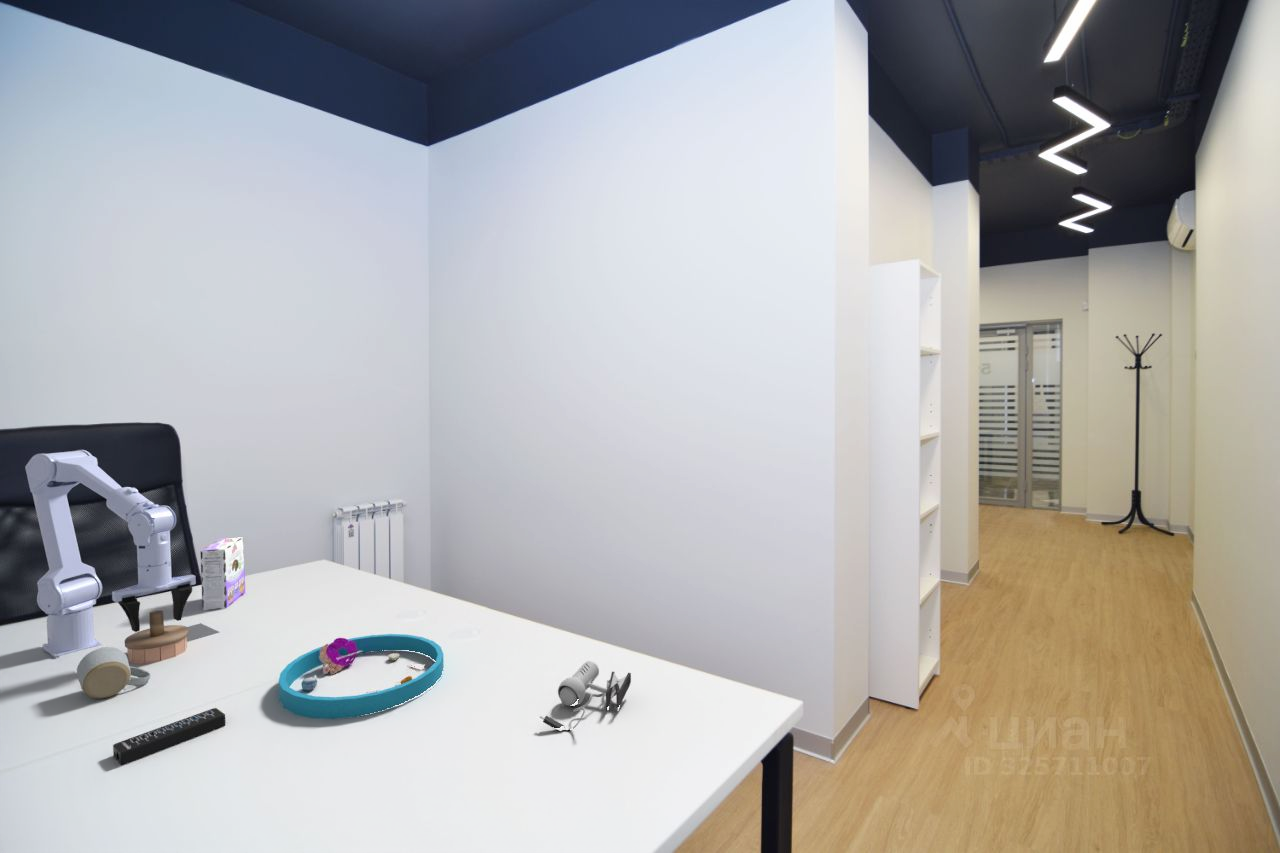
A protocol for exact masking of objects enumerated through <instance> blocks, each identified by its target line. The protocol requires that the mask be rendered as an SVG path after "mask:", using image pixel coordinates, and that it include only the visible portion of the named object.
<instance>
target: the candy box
mask: <svg viewBox="0 0 1280 853" xmlns="http://www.w3.org/2000/svg"><path fill="white" fill-rule="evenodd" d="M244 547H245V546H244V537H243V536H239V537H237V536H236V537H221V538H219V539H218V540H216V541H214V542H213V543H212V544H209V545H208V546H206V547H205V548H203V549H200V551H199V552H200V553H199V554H200V573H201V574H200V575H201V576H200V577H201V579H200V580H201V603H202V604H201V606H202V608H201V609H202V611H210V610H211V611H213V610H226V609H228V608H229V607H230V606H231V605H232V604H234V603H235V602H236V601H237V600H238V599H239V598H241V597H243V595H244V594H246V575H245V551H244V550H245V549H244Z"/></svg>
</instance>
